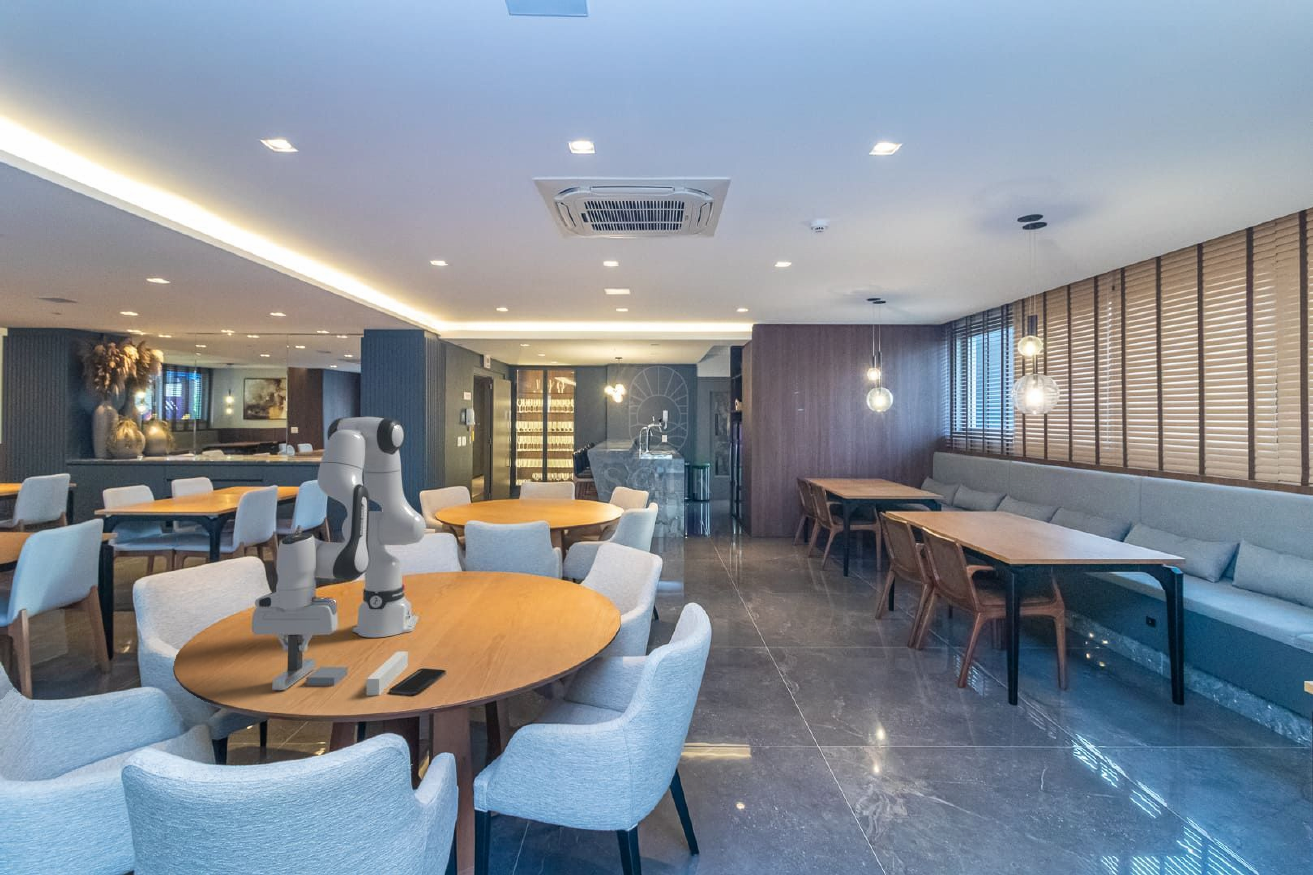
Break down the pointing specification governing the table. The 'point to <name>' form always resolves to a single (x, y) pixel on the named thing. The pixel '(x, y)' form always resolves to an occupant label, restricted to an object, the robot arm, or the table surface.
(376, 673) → the bar
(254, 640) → the table surface
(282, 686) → the upside-down t block
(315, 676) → the slate tile
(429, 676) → the phone
